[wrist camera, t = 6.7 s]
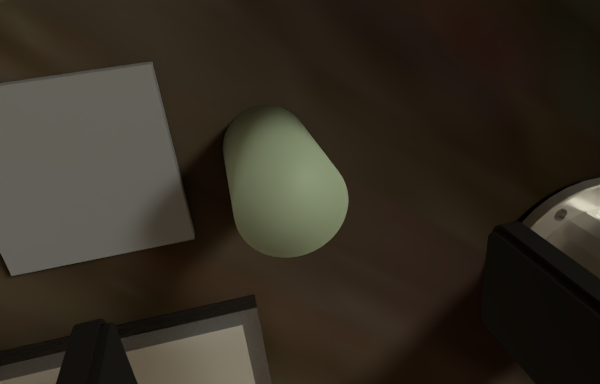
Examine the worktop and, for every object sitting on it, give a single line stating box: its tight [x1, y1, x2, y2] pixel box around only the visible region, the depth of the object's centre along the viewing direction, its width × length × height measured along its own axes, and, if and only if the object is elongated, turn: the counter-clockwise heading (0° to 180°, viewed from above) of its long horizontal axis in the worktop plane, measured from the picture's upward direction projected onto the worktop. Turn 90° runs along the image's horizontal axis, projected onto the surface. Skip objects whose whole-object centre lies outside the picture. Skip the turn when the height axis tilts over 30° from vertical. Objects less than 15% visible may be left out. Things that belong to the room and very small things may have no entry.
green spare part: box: [223, 105, 348, 258], centre depth 20 cm, size 4×4×7 cm
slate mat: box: [0, 61, 195, 276], centre depth 21 cm, size 9×9×1 cm
